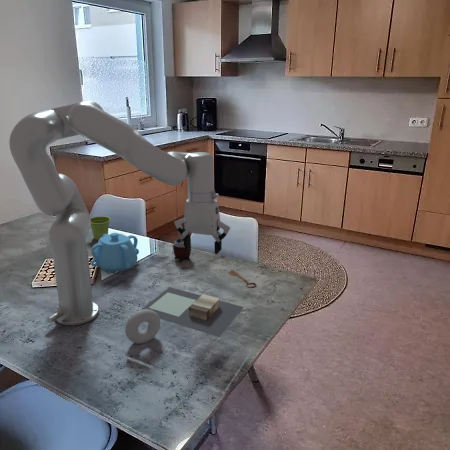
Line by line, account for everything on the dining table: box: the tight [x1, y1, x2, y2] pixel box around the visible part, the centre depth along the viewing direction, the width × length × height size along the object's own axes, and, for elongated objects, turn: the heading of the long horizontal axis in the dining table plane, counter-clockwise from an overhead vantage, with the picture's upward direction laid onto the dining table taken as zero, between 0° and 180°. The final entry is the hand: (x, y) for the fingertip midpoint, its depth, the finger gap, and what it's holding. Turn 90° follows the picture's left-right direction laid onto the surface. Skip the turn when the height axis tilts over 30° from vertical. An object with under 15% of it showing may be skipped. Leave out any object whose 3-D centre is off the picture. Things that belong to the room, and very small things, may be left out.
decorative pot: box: [90, 232, 140, 275], centre depth 154 cm, size 16×16×14 cm
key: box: [228, 269, 257, 289], centre depth 150 cm, size 6×1×15 cm
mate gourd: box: [172, 219, 192, 263], centre depth 163 cm, size 8×8×15 cm
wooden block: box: [189, 293, 221, 321], centre depth 127 cm, size 9×6×3 cm
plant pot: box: [90, 215, 111, 241], centre depth 182 cm, size 9×9×9 cm
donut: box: [124, 308, 161, 345], centre depth 112 cm, size 10×3×10 cm, turn 124°
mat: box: [140, 286, 245, 338], centre depth 129 cm, size 18×28×1 cm, turn 65°
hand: (202, 250), depth 123 cm, fingers open, 9 cm apart
